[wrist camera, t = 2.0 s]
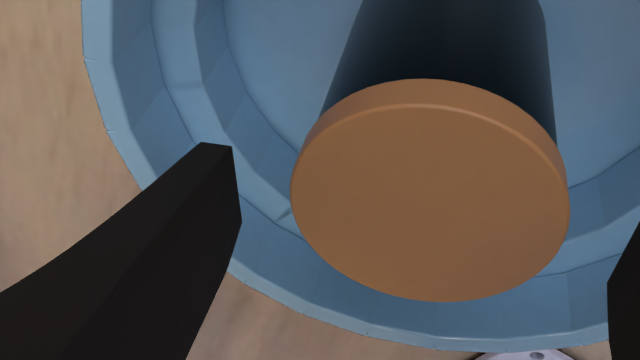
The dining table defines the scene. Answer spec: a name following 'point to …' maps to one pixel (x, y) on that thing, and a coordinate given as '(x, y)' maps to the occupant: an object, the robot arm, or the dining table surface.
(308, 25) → the blue bowl
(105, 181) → the dining table surface
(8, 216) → the dining table surface
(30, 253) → the dining table surface
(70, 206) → the dining table surface
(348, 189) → the tea tin
